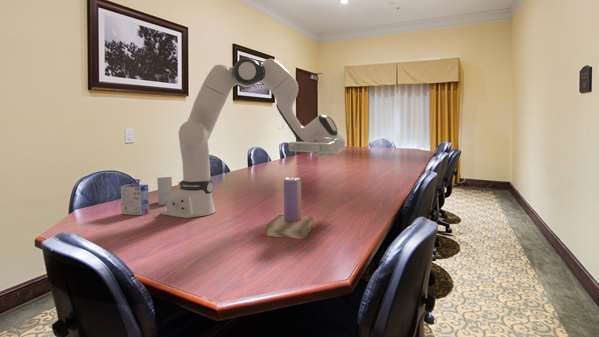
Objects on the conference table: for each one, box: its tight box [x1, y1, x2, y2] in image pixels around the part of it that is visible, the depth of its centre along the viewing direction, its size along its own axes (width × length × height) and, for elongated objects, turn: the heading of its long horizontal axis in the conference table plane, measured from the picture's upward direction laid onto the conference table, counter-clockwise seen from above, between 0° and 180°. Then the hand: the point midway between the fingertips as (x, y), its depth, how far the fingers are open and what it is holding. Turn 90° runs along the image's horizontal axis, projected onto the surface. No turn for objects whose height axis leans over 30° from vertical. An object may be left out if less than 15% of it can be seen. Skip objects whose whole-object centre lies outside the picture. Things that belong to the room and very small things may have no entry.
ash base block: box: [266, 214, 314, 240], centre depth 127 cm, size 13×13×4 cm
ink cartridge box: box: [120, 178, 150, 216], centre depth 153 cm, size 10×6×14 cm, turn 79°
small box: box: [156, 174, 173, 206], centre depth 172 cm, size 8×6×13 cm
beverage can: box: [283, 176, 302, 223], centre depth 125 cm, size 6×6×15 cm
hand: (300, 148), depth 140 cm, fingers open, 8 cm apart
